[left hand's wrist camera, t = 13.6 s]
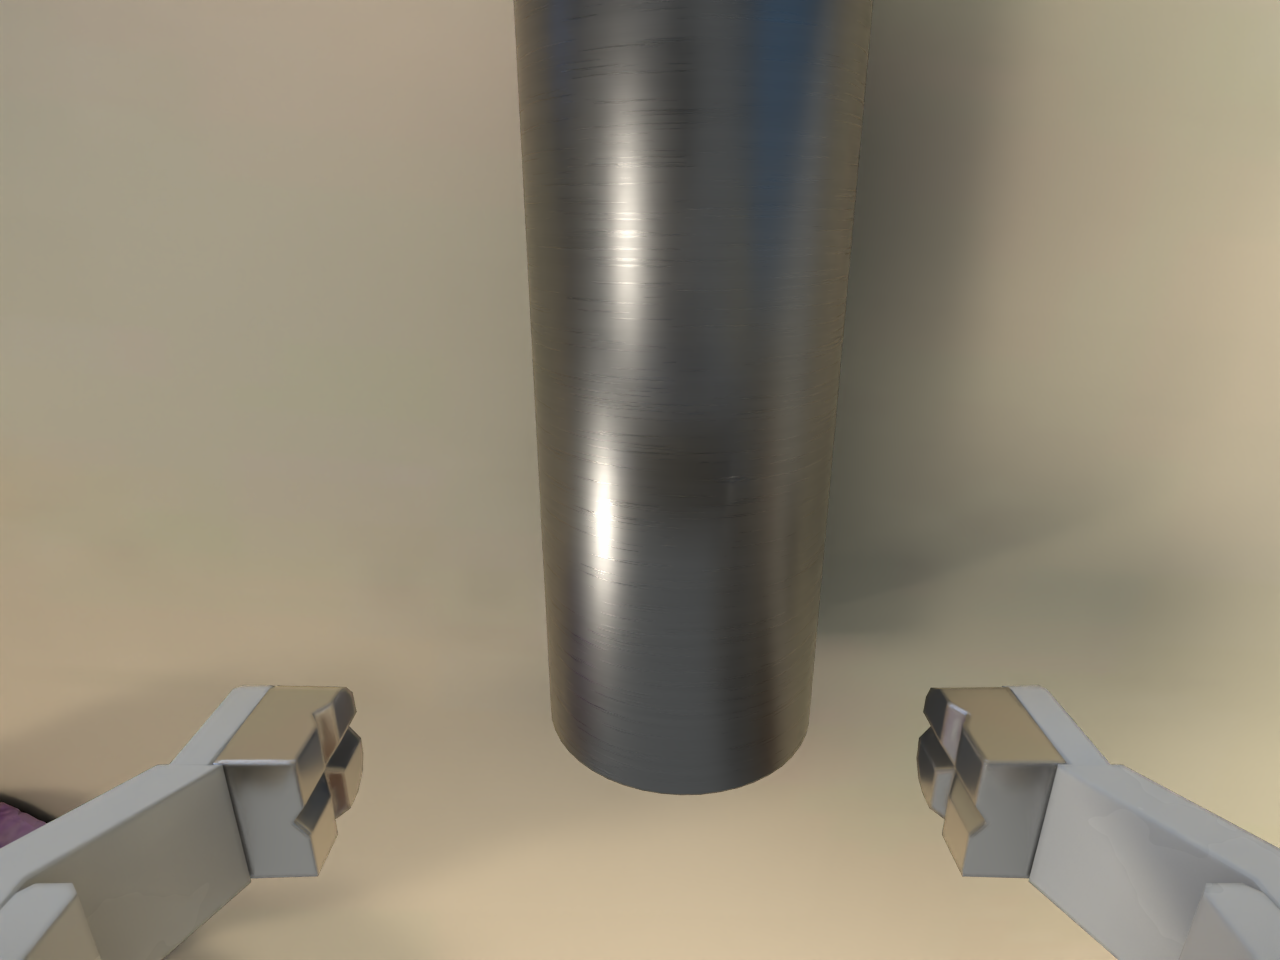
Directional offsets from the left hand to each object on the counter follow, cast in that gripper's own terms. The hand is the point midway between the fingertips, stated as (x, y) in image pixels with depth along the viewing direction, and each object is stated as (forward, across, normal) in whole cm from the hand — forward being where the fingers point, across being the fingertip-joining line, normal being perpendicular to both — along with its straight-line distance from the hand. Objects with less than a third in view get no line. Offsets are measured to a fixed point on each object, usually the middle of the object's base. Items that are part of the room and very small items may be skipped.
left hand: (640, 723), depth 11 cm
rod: (+9, -1, -9) cm, 13 cm away
